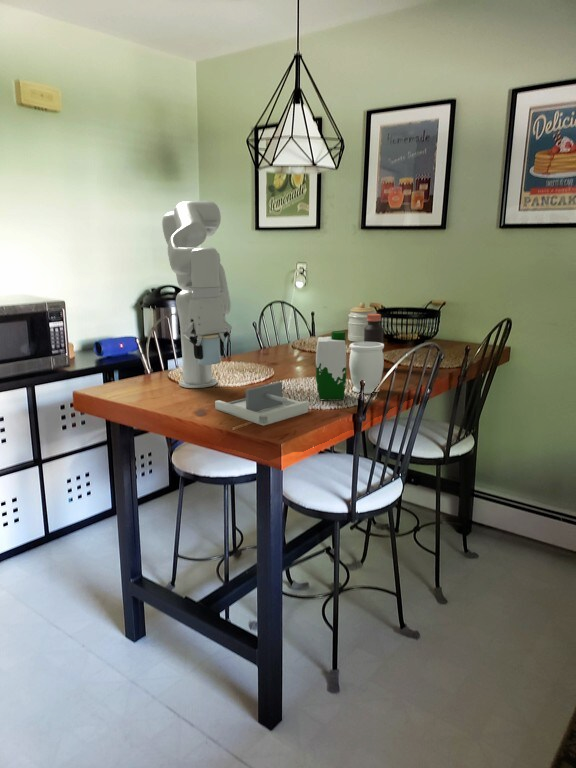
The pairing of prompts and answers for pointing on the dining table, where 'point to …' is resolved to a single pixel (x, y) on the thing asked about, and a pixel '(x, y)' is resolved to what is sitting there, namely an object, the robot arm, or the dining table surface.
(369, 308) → the jar
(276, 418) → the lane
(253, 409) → the pusher
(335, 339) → the milk carton
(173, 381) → the dining table surface
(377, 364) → the jar
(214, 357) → the glazed jar
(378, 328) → the bottle
